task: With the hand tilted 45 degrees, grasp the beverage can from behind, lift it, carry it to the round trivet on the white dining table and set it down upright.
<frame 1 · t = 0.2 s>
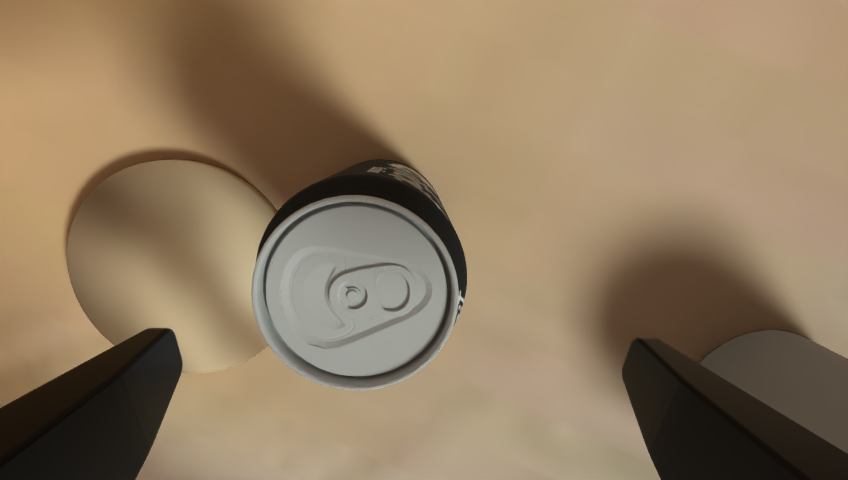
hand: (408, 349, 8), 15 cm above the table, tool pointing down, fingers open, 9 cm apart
trivet: (190, 268, 24), on the table
coffee mug: (757, 421, 27), on the table
beverage can: (383, 218, 24), on the table
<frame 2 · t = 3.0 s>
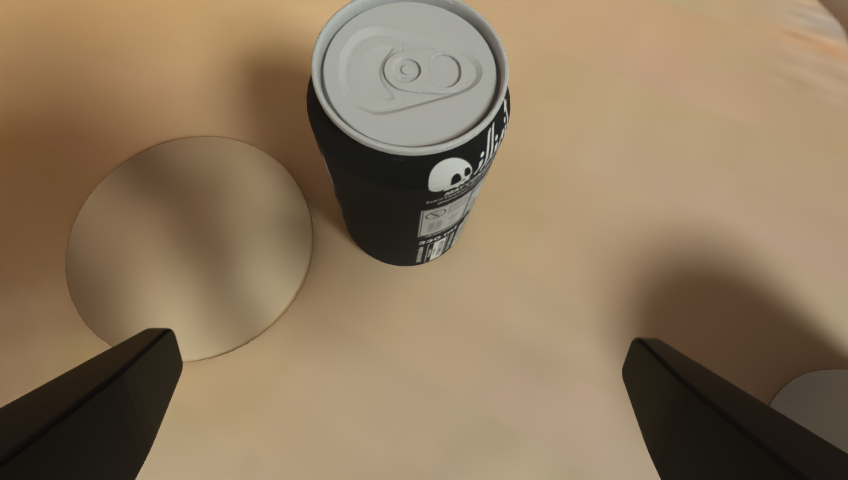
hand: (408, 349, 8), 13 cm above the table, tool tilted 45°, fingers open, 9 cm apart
trivet: (198, 244, 22), on the table
beverage can: (405, 213, 24), on the table
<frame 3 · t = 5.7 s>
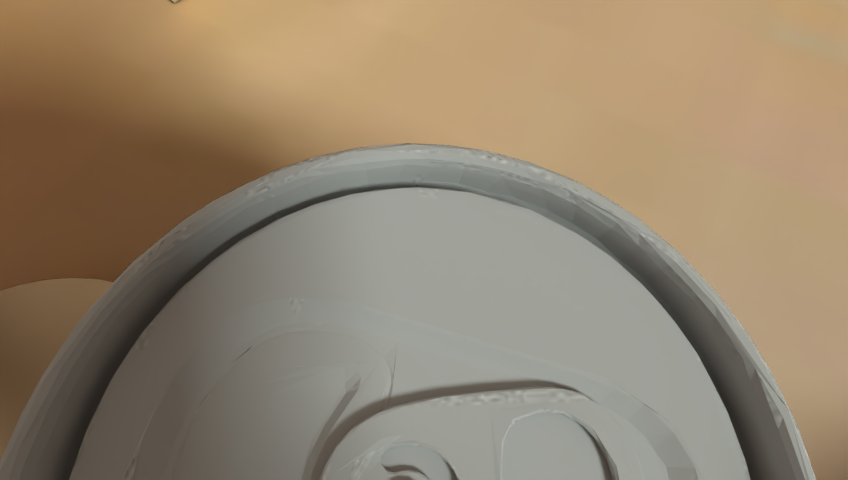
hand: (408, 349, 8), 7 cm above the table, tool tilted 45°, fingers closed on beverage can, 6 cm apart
trivet: (46, 474, 13), on the table
beverage can: (403, 403, 14), on the table, touching gripper
when the fingers open (8 cm above the table, at t = 9.7 s): beverage can stays where it is, resting on trivet.
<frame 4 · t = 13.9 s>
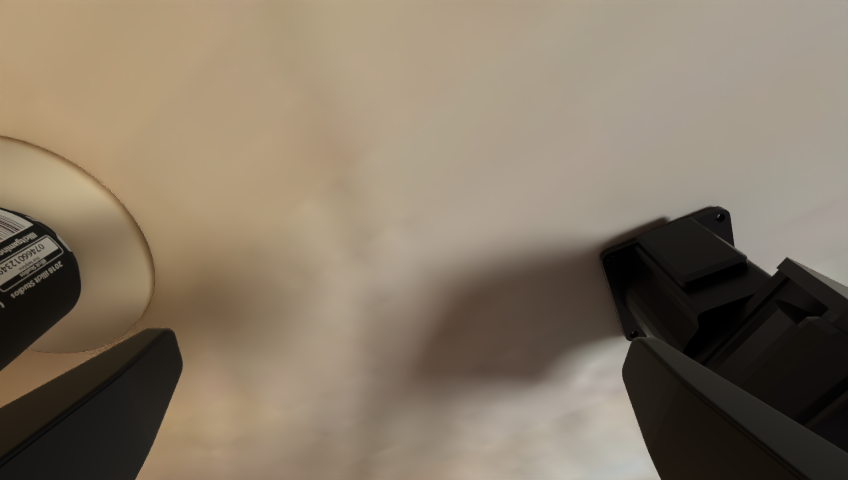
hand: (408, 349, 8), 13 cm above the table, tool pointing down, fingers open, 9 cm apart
trivet: (30, 251, 22), on the table
beverage can: (23, 257, 21), point 1 cm above the table, touching trivet
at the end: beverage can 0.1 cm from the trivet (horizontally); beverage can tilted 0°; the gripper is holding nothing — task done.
